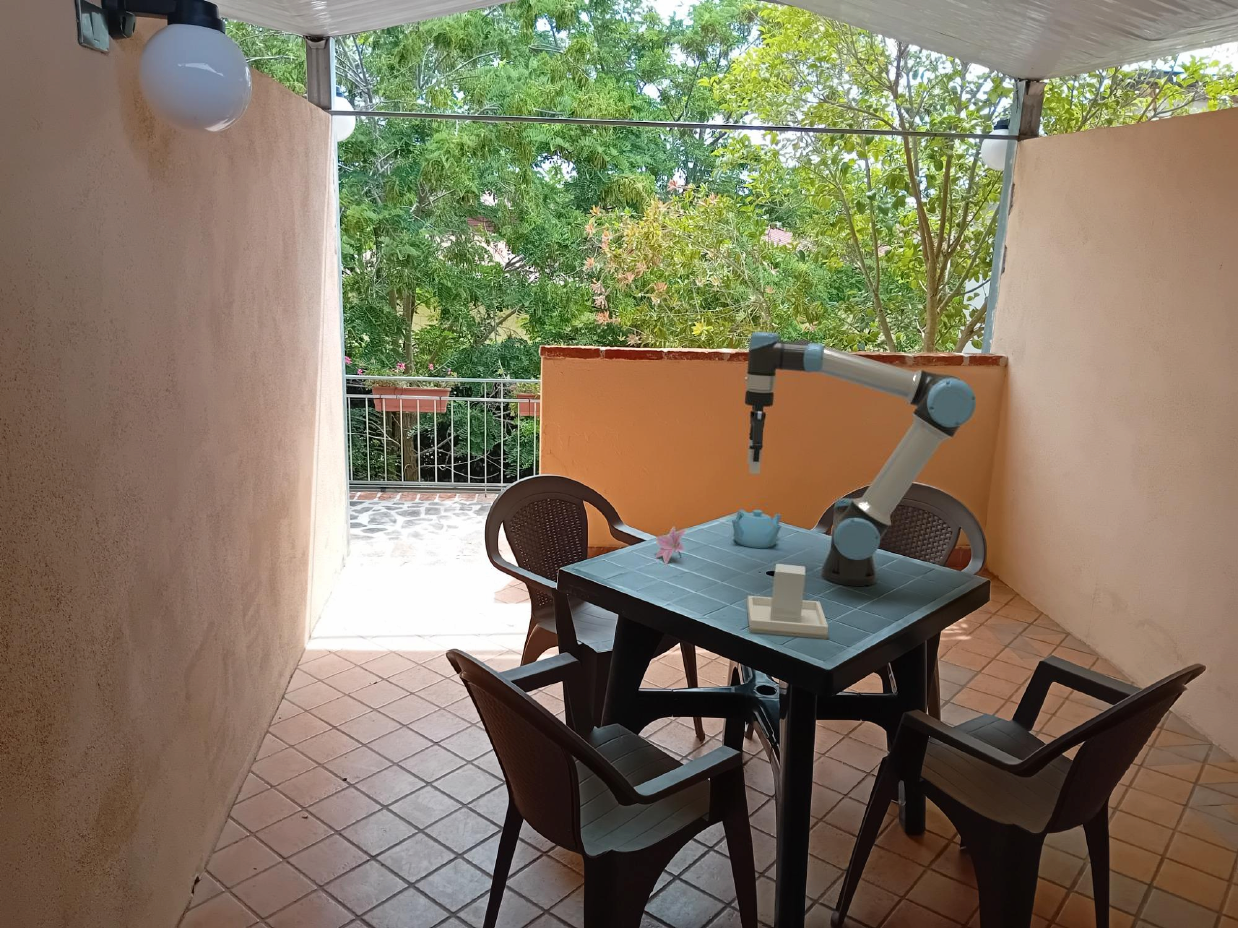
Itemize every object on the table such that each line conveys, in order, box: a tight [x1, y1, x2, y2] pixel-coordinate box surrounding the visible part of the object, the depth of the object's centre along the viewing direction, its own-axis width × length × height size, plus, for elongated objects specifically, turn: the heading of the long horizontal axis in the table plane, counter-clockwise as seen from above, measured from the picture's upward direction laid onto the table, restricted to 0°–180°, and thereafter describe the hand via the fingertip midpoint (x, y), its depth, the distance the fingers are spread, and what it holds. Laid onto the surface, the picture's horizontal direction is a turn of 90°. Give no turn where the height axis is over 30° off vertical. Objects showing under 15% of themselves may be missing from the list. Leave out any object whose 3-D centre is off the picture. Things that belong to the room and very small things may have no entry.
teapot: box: [731, 509, 782, 549], centre depth 299 cm, size 15×15×11 cm
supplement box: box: [770, 563, 806, 623], centre depth 229 cm, size 7×7×13 cm
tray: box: [746, 595, 829, 640], centre depth 230 cm, size 18×18×3 cm
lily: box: [654, 525, 688, 565], centre depth 277 cm, size 12×12×10 cm
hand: (753, 468), depth 255 cm, fingers open, 13 cm apart
